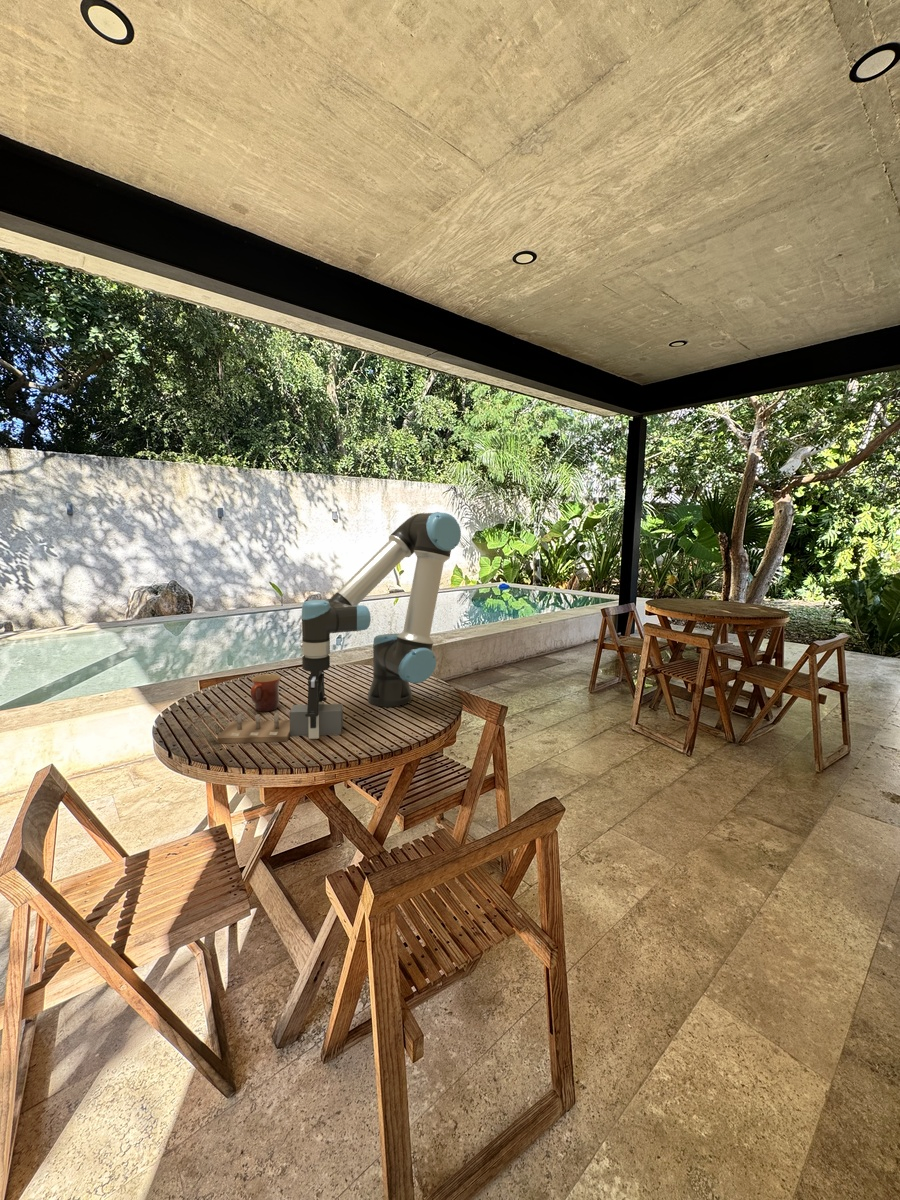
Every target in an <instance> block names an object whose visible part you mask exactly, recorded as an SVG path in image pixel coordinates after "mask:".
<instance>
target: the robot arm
mask: <svg viewBox="0 0 900 1200" xmlns="http://www.w3.org/2000/svg"><path fill="white" fill-rule="evenodd" d="M461 537H462V532H461V526H460V524H459V523H458V521H457V519H456V518H455V517H454V516H453V515H452V514H449V513H446V512H440V511H435V512H428V513H427V512H425V513H424V512H423V513H421V512H420V513H417V514H414V515H412V516H410V517H409V518H407V519H406V520H405V521H404V522H402V523H401V524H400V525H399V526H398V527H397V528H396V529H395V530H394V531H393V532H392V533H391V534H390V535H389V536H388V541H387V542H386V543H385V544H384V545H383V546H382V547H381V548H380V549H379V550H378V551H377V552H376V553H375V554H374V555H373V556H372V557H371V558H370V559H369V560H368V561H367V562H366V563H364V565H363V566H362V567H361V568H360V569H359V570H358V571H357V572H356V573H355V574H353V576H352V577H351V578H349V580H348V581H347V582H346V583H345V584H343V586H342V587H341V588H339V590H337V591H336V592H335V593H334V594H333V595H332V596H331V597H330V598H328V599H309V600H306V601H304V602H303V603H302V606H301V617H300V619H301V636H302V638H301V640H302V642H301V643H300V645H299V646H300V647H301V648H302V655H303V656H302V658H301V661H302V662H301V667H302V670H303V671H305V672H310V673H309V676H308V677H307V688H308V689H307V705H308V707H307V714H305V716H306V717H308V729H309V735H308V739H309V740H315V739H316V740H317V739H319V738H320V735H319V715H318V706H319V704H325V702H326V701H327V699H328V698H327V697H326V694H325V692H326V690H325V672H324V671H327V670H329V669H330V667H331V662H330V661H331V660H330V659H331V658H330V654H331V640H330V639H331V635H330V634H337V633H348V632H360V631H366V630H368V629H369V627H370V625H371V617H372V616H371V611H370V610H369V608H368V607H367V605H363V604H362V605H361V604H360V603H361V602H362V601H363V600H364V599H365V598H366V597H367V596H368V595H369V594H370V593H371V592H372V591H373V590H374V589H375V588H376V587H377V586H378V585H379V584H380V583H381V582H382V581H383V580H384V579H385V578H386V577H387V576H388V575H389V574H390V573H392V571H393V570H394V569H395V568H396V567H397V566H398V565H399V564H400V563H401V562H402V561H403V560H404V559H405V558H410V557H411V556H412V555H413V554H415V556H416V562H415V568H414V573H413V579H412V583H411V590H410V593H409V594H410V595H409V598H408V604H407V609H406V615H405V621H404V624H403V625H404V626H403V630H402V632H400V633H384V634H383V633H382V634H378V635H376V636H375V637H373V642H372V644H373V645H372V649H373V651H372V653H373V654H372V657H373V658H372V659H373V661H372V669H373V671H372V672H373V673H372V675H373V676H372V677H373V678H372V681H371V684H370V688H369V690H368V694H367V701H368V703H370V704H371V705H374V706H378V707H382V708H383V707H384V708H393V707H395V706H396V707H401V706H400V705H402V706H405V705H407V704H406V703H408V702H410V701H411V700H413V692H412V688H411V685H410V683H411V684H420V683H424V682H425V681H426V680H428V679H429V678H431V677H432V675H433V673H434V672H435V671H436V670H435V669H436V666H437V657H436V656H435V653H434V652H433V651H432V650H433V646H434V641H433V640H432V638H431V636H430V635H431V631H432V626H433V620H434V616H435V610H436V605H437V599H438V595H439V589H440V583H441V579H442V574H443V570H444V569H443V568H444V564H445V562H446V561H449V560H450V557H451V553H452V550H454V549H455V548H456V547H457V546H458V545H459V544H460V541H461ZM359 604H360V605H359ZM411 702H412V701H411ZM411 702H410V703H411ZM404 704H405V705H404ZM408 704H409V703H408ZM396 707H395V708H396Z"/></svg>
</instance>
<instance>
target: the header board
mask: <svg viewBox="0 0 900 1200" xmlns="http://www.w3.org/2000/svg"><path fill="white" fill-rule="evenodd" d="M279 716H280V715H279V713H275V714H273V720H261V714H260V713H258V714H255V720H244V721H243V720H242V718H243V717H242V714H237V715H236V721H235V720H233V721H230V722H229V723H228V724H227V726H226V727H225V728H224V730H223V731H221V733H220V734H219V736H217V738H216V741H217V744H219V745H220V744H249V743H251V744H253V743H255V744H256V743H285V742H288V740H289V738H290V737H291V736H290V719H289V720H288V719H284V720H283V719H282V720H281V719H280V717H279Z"/></svg>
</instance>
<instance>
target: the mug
mask: <svg viewBox="0 0 900 1200" xmlns="http://www.w3.org/2000/svg"><path fill="white" fill-rule="evenodd" d="M251 681H252V685H253V686H251V689H250V699H251V701H252V702H253V704H254V708H255V709H256V711H258V712H262V713H264V712H265V713H267V712H272V711H274V710H276V709H278V707H279V704H280V695H279V694H280V692H279V690H280V689H279V687H280V681H281V675H279V674H273V673H266V674H257V675H255V676H253V677H252V678H251Z"/></svg>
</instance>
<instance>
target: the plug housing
mask: <svg viewBox="0 0 900 1200" xmlns="http://www.w3.org/2000/svg"><path fill="white" fill-rule="evenodd" d="M343 705H344V704H343V703H324V704H319V706H318V715H319V736H337V735H338V736H340V735H341V734H342V729H343V724H344V719H343V717H344V716H343V715H344V714H343V713H344V711H343V710H344V707H343ZM307 707H308V704H293V705H292V707H291V708H290V710H289V713H288V714H289V720H290V737H296V736H298V737H299V736H302V737H303V736H305V737H307V736H309V729H308V717H306V716H305V714H307Z"/></svg>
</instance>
